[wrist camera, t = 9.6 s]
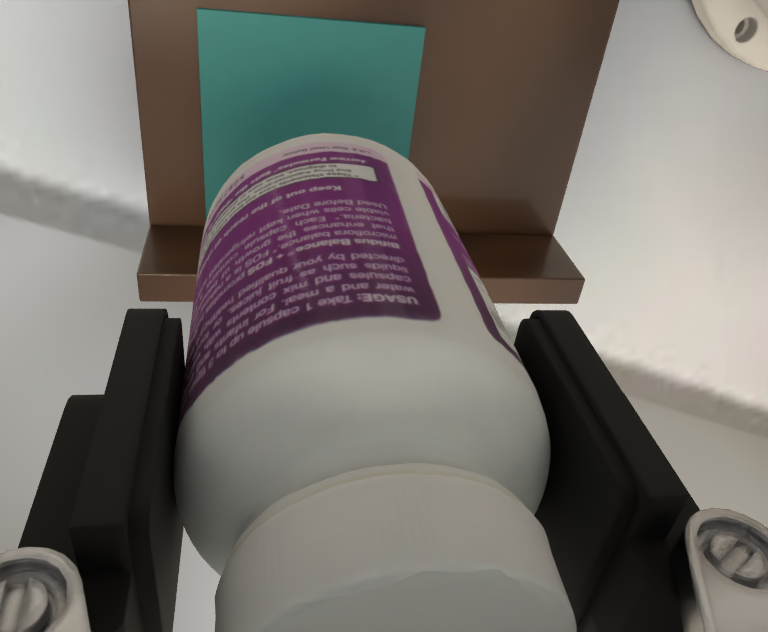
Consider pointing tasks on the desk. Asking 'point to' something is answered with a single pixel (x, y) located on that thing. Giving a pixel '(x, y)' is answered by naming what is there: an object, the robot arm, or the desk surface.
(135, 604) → the robot arm
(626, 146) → the desk surface
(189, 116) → the shelf
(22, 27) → the desk surface
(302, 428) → the pill bottle
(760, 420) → the desk surface
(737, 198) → the desk surface
